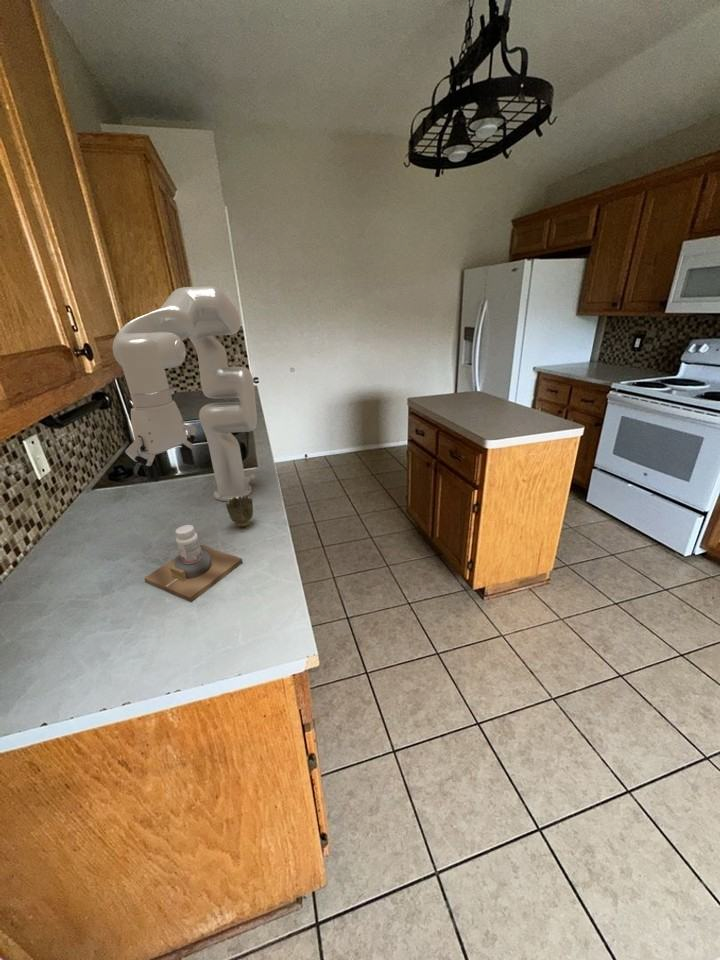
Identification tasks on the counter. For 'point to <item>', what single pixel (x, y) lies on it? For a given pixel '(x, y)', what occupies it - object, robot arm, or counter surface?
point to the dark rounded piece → (240, 510)
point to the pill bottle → (188, 544)
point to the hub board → (198, 582)
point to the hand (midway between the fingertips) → (172, 471)
